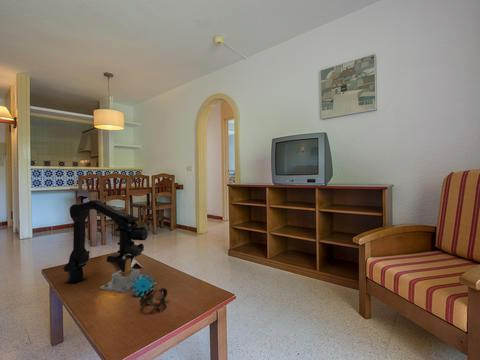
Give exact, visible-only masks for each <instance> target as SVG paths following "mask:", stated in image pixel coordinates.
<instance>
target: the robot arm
mask: <svg viewBox="0 0 480 360" xmlns="http://www.w3.org/2000/svg"><path fill="white" fill-rule="evenodd" d="M91 210H95V212H98V213H100V214H102V215H103V216H106V217H107V218H110V219H111V220H112V221H113V222H114V224H116V225H117V227H116V228H115V230H114V232H119V233H118V234H119V237H118V238H119V239H118V240H119V241H118V242H117V244H116V245H118V246H119V247H118V248H119V249H118V250H117V253H112V254H109V255H108V256H106V263H111V264H112V263H113V264H117V266H118V267H119V269H120V270H121V271H122V272H124V271H125V262H126V260H127V259H125V258H131V263H132V261H133V259H134V258H136V257H138V256H140V255H142V252H144V251H145V248H144V247H145V246H144V245H145V244H143V243H139V244H135V241H146V240H147V238H148V234H149V232H148V229H147V228H146V226H145V225H143V226H139V224H138V223H137V222H136V220H135V219H134V216H133V215H132V214H131V213H127V212H123V211H119V210H118V209H115V208H113V207H111V206H109V205H107V204H105V203H103V202H101V200H99V199H92V200H89V201H87V202H82V203H81V202H80V203H75V204H72V205H71V206H70V207H69V215H70V216H69V217H70V218H71V220H72V221H73V235H72V236H73V237H72V238H73V245H72V251H71V253H70V254H69V258H68V263H66V264H65V266H64V267H63V271H64V272H65V273H66V272H67V280H65V281H64V283H69V284H74V285H75V284H77V283H79V282H81V281H84V280H86V277H85V276H84V267H86V264H87V263H88V262H89V259H90V252H91V251H90V250H87V249H86V220H87V218H88V217H89V213H90V211H91Z"/></svg>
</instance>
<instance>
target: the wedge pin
mask: <svg viewBox="0 0 480 360" xmlns="http://www.w3.org/2000/svg"><path fill="white" fill-rule="evenodd" d="M125 259H127V260H126V262H125V271H124V272H122V271H121V274H128V273H130V272H131V269H132V268H131V258H125Z"/></svg>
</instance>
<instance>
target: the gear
mask: <svg viewBox="0 0 480 360" xmlns="http://www.w3.org/2000/svg"><path fill="white" fill-rule="evenodd" d="M141 274H142V278H141V279H140V280H139V278H140V276H137V279H138V282H136V280H135V279H134V280H133V281H132V282H133V283H135V284H136V286H134V284H132V285H131V288H132V287H133V288H132V289H131V293H135V294H134V295H135V296H136V297H138V296H139V294H140V293H141V294H140V297H141V298H142V297H143V296H145V294H146V293H148V292H149V291H150V290H152V289H155V286H157V281H155V282H154V278H151V276H150V274H149V275H148V274H143V273H141ZM145 275H147V277H146V278H145V279H143V277H145ZM136 291H137V292H136Z"/></svg>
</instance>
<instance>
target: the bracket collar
mask: <svg viewBox="0 0 480 360" xmlns="http://www.w3.org/2000/svg"><path fill="white" fill-rule="evenodd" d="M142 274H143V273H140V269H137V268H131V272H130V273H128V274H121V269H120V270H118V271H115V272H114V273H112V274H111V281H109V282H107V283H105V284H103V285H101V286H100V287H99V289H100V290H104V291H108V292H109V291H110V292H115V293H116V292H117V293H122V294H123V293H124V294H125V293H127V292H128V291H130V290H132V289H134V287H132V288H131V285H132V284H134V286H136V284H135V283H133V282H132V281H133V280H134V279H135V280H136V282H138V279H137V276H140V278H139V280H140V279H141V278H142ZM144 275H145V277H143V279H145V278H146V277H147V275H148V274H144Z"/></svg>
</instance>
